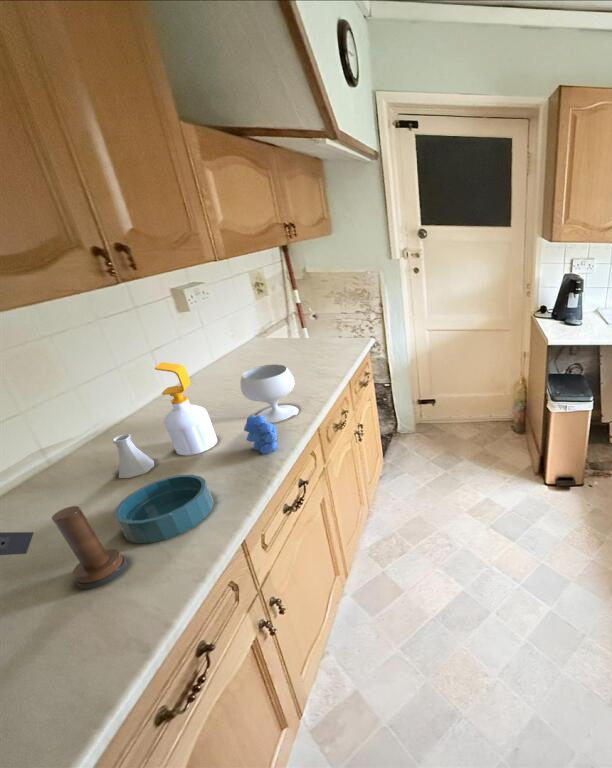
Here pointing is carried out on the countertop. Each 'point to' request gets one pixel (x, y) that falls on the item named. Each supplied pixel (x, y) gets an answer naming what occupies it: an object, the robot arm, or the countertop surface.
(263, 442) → the grapes
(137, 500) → the bowl
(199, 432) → the soap bottle
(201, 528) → the countertop surface
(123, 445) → the flask
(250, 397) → the chalice
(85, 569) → the dish brush
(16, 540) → the robot arm
